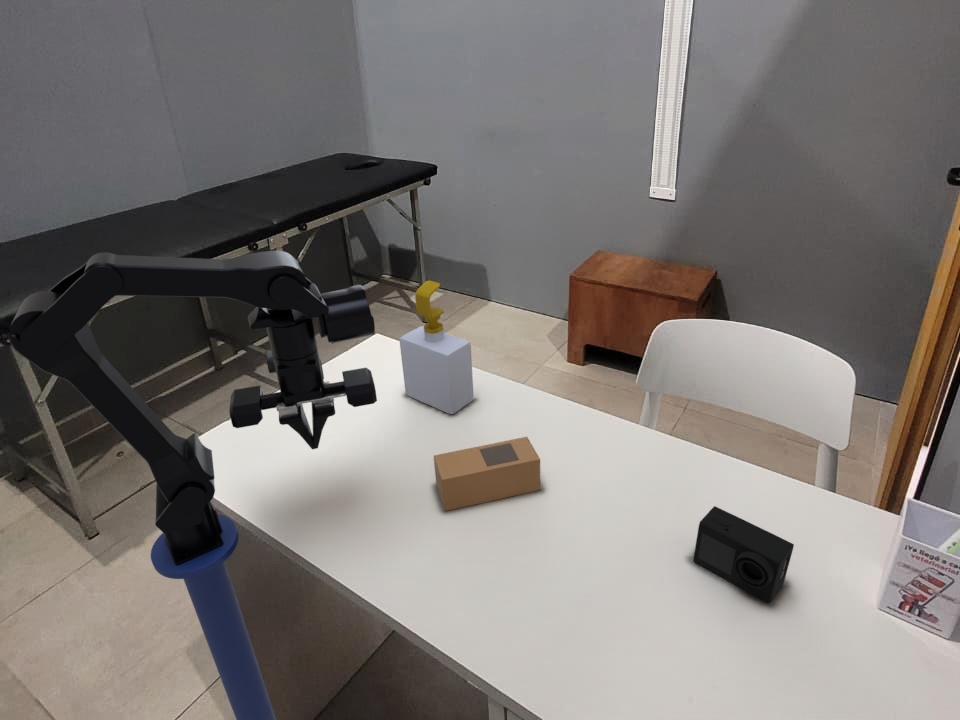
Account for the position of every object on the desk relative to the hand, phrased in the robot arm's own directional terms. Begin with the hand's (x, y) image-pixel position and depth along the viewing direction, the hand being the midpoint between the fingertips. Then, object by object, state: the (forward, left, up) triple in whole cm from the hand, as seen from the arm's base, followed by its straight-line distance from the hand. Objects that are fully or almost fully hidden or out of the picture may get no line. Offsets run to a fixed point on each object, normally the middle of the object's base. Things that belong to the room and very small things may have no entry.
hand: (314, 447), depth 91 cm
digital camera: (+37, -44, -12) cm, 59 cm away
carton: (+15, -8, -9) cm, 19 cm away
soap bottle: (+30, +16, -12) cm, 36 cm away
